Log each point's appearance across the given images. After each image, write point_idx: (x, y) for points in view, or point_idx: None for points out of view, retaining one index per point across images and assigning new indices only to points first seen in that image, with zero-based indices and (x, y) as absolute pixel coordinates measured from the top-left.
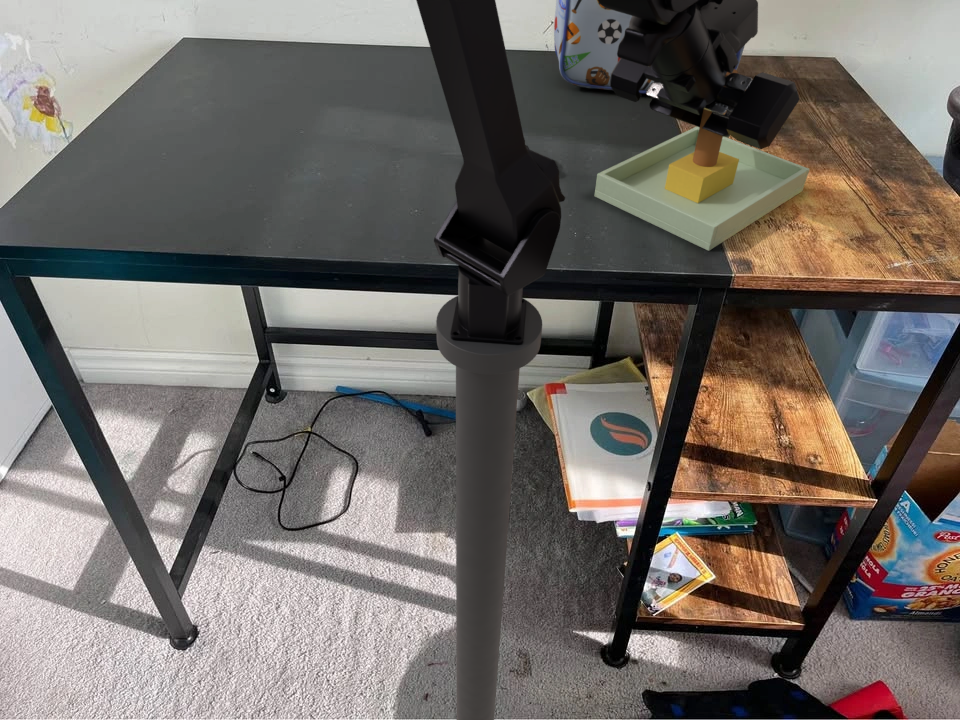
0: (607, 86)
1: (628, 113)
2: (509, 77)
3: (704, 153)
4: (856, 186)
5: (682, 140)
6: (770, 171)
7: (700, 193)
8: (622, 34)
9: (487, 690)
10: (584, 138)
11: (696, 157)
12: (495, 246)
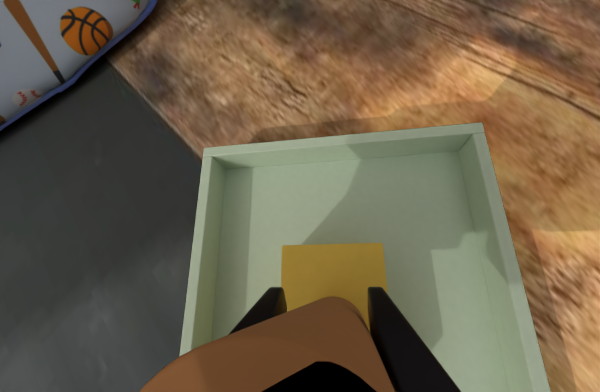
0: (11, 118)
1: (82, 150)
2: None
3: (345, 376)
4: (502, 62)
5: (211, 209)
6: (394, 154)
7: None
8: None
9: None
10: (58, 295)
11: (323, 370)
12: None
